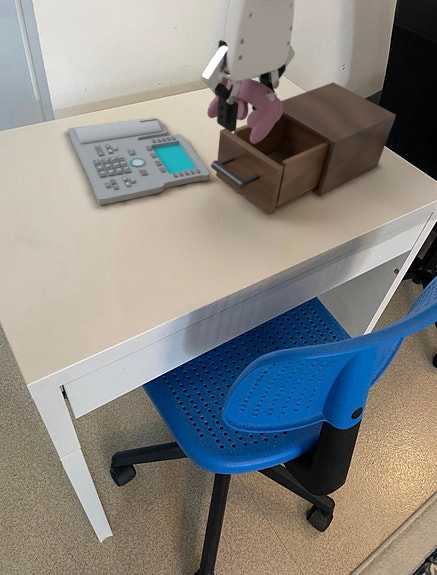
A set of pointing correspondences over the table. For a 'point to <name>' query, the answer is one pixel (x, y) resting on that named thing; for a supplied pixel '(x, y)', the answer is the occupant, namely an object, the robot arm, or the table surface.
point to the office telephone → (134, 159)
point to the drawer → (271, 163)
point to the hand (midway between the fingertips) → (244, 119)
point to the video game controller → (260, 99)
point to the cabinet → (342, 130)
